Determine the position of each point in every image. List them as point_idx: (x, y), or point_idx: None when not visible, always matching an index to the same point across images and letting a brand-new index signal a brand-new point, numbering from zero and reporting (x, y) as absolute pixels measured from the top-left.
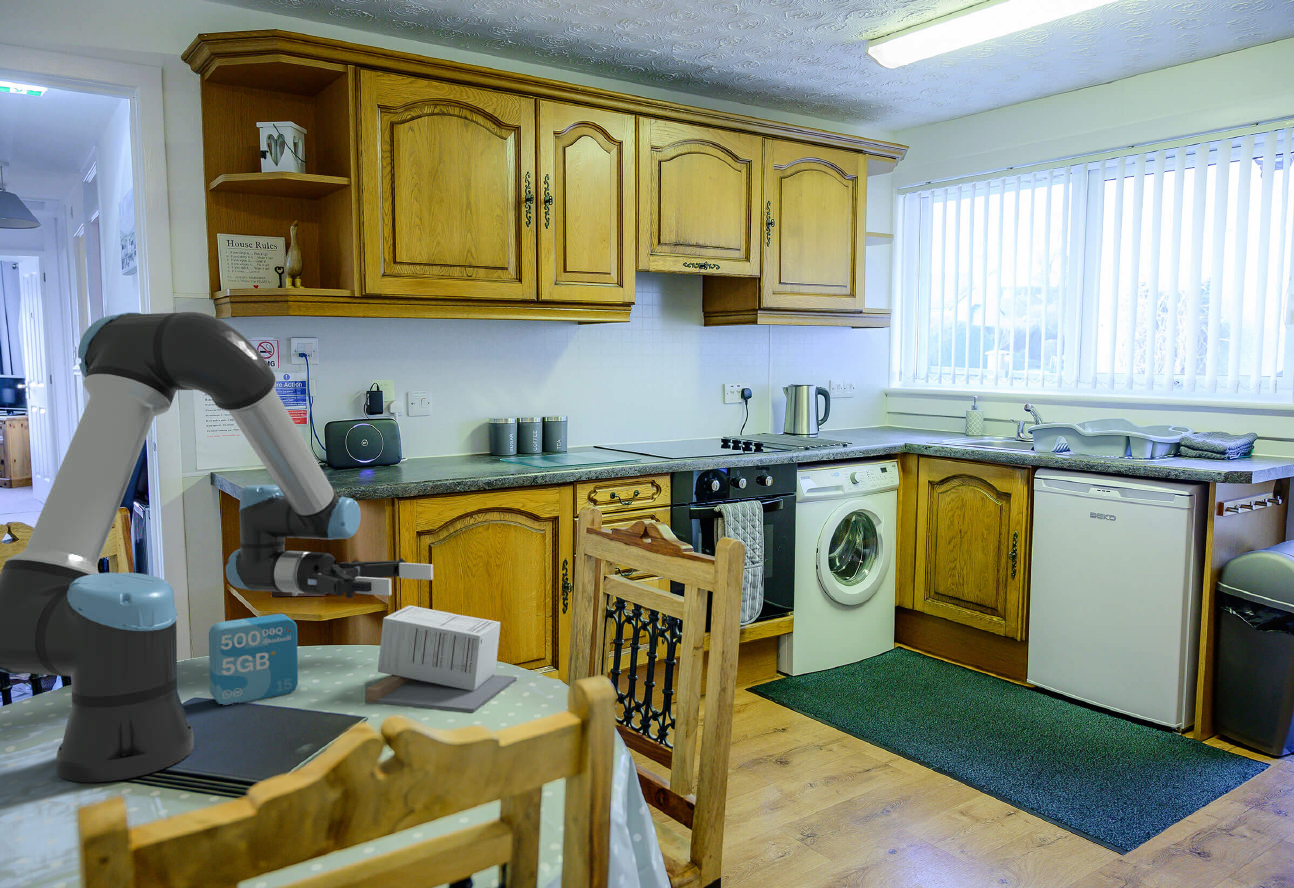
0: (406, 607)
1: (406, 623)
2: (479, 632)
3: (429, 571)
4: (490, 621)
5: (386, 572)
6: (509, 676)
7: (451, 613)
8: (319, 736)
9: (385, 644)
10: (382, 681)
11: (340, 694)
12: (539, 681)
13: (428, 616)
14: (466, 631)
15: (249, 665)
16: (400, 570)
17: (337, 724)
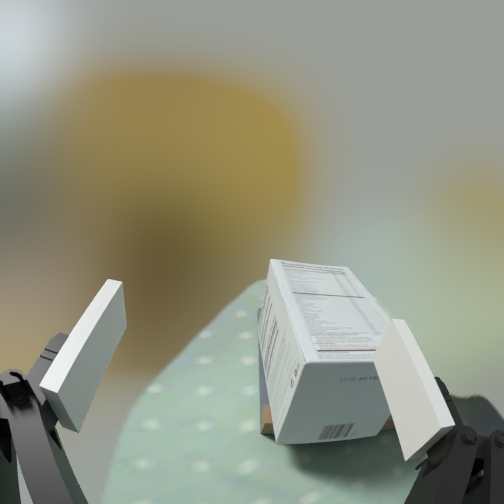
0: (333, 357)
1: None
2: (336, 268)
3: (123, 305)
4: (280, 264)
5: (70, 477)
6: (259, 314)
7: (287, 299)
8: (485, 400)
9: None
10: (389, 416)
11: (410, 476)
12: (255, 293)
13: (343, 315)
14: (349, 275)
15: None
16: (70, 409)
17: (464, 407)
